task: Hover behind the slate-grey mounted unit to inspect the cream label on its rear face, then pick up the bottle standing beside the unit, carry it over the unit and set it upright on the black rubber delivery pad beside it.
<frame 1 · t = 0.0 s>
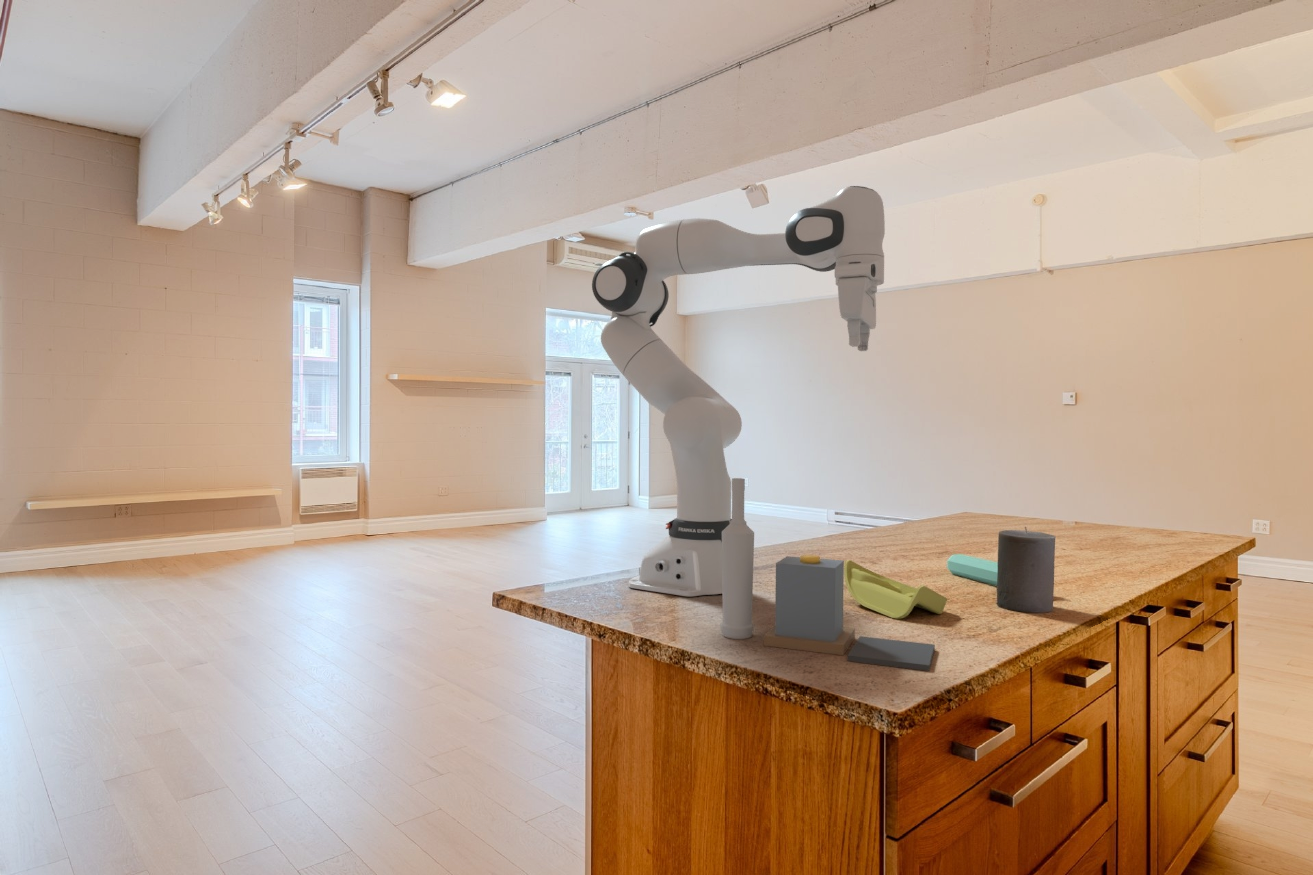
hand: (858, 348, 147), 48 cm above the counter, fingers open, 8 cm apart
mint green rod: (990, 585, 167), on the counter
delivery pad: (892, 655, 114), on the counter
mounted unit: (810, 641, 121), on the counter
bottle: (737, 636, 125), on the counter
plastic component: (890, 608, 145), on the counter
pillar candle: (1025, 608, 145), on the counter
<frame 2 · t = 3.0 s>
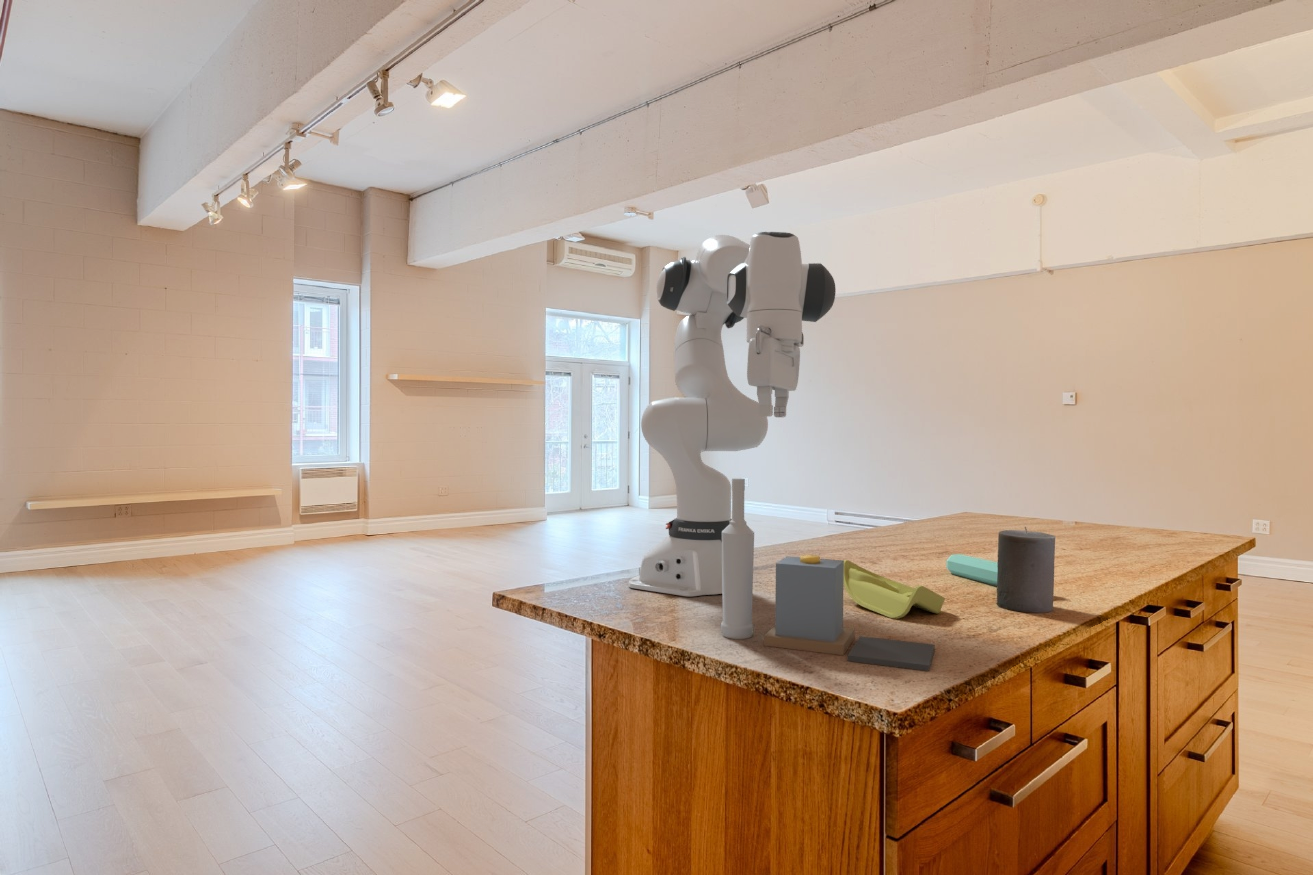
hand: (773, 417, 126), 35 cm above the counter, fingers open, 8 cm apart
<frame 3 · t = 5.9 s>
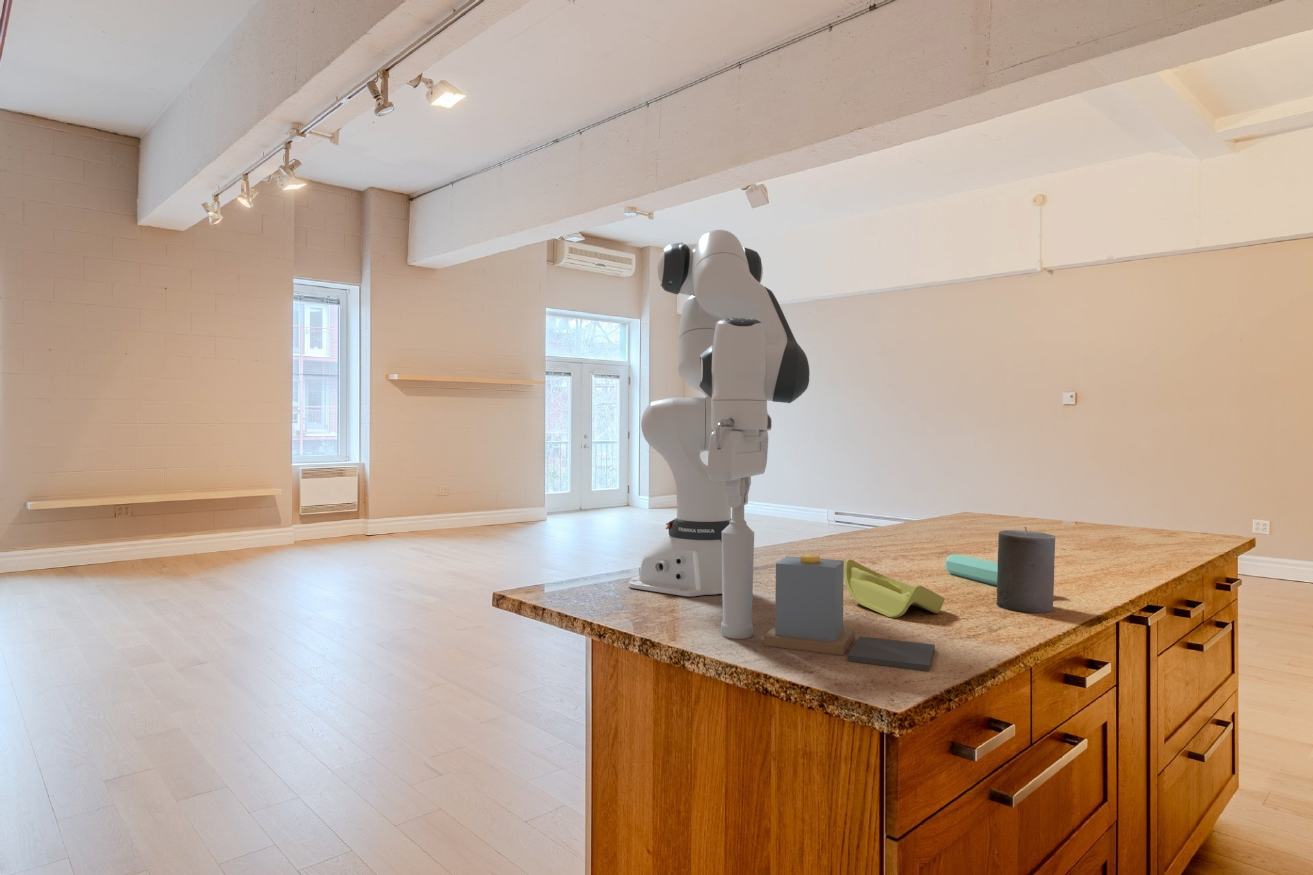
hand: (738, 506, 124), 21 cm above the counter, fingers closed on bottle, 2 cm apart
bottle: (737, 636, 125), on the counter, touching gripper
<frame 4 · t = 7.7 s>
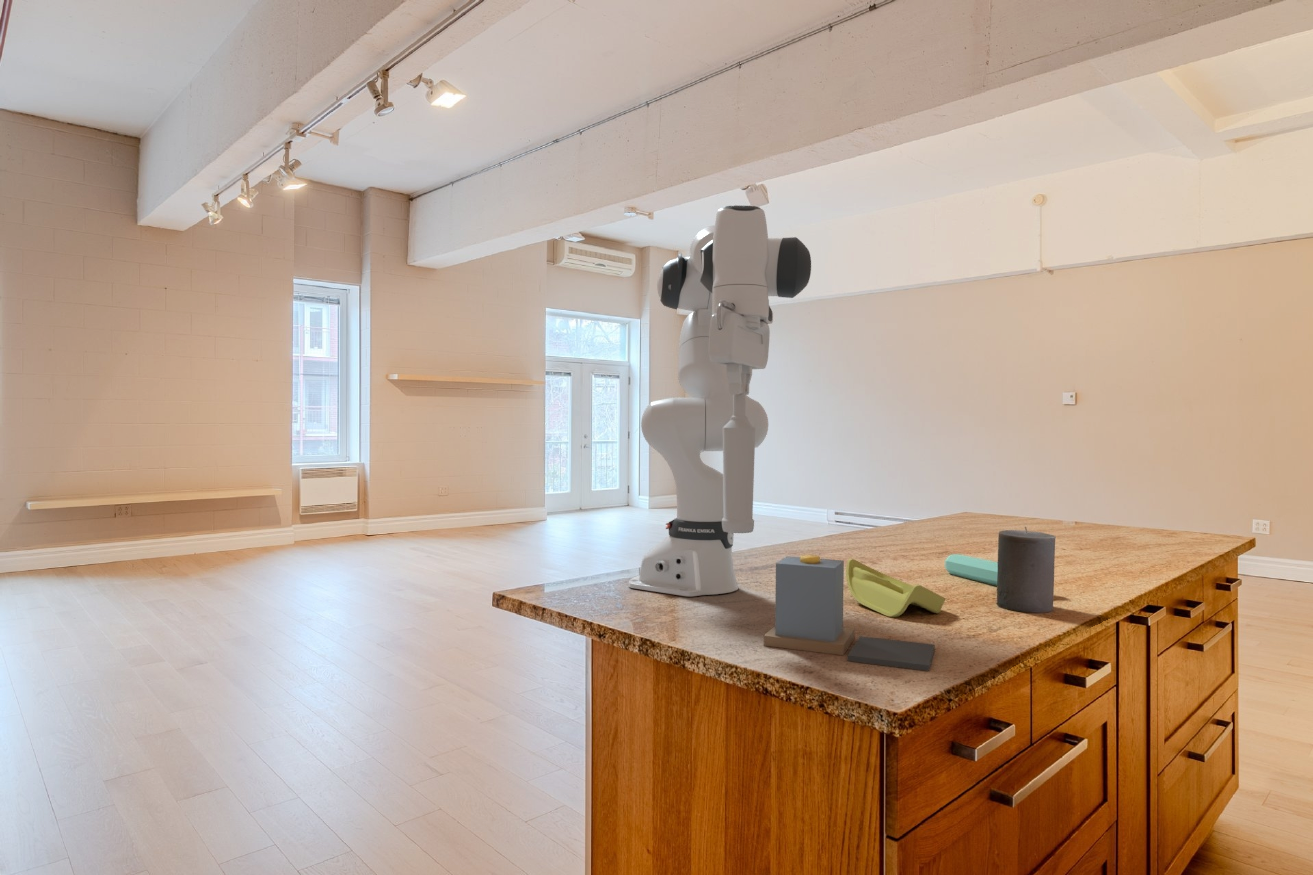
hand: (739, 395, 124), 38 cm above the counter, fingers closed on bottle
bottle: (737, 532, 125), point 16 cm above the counter, touching gripper
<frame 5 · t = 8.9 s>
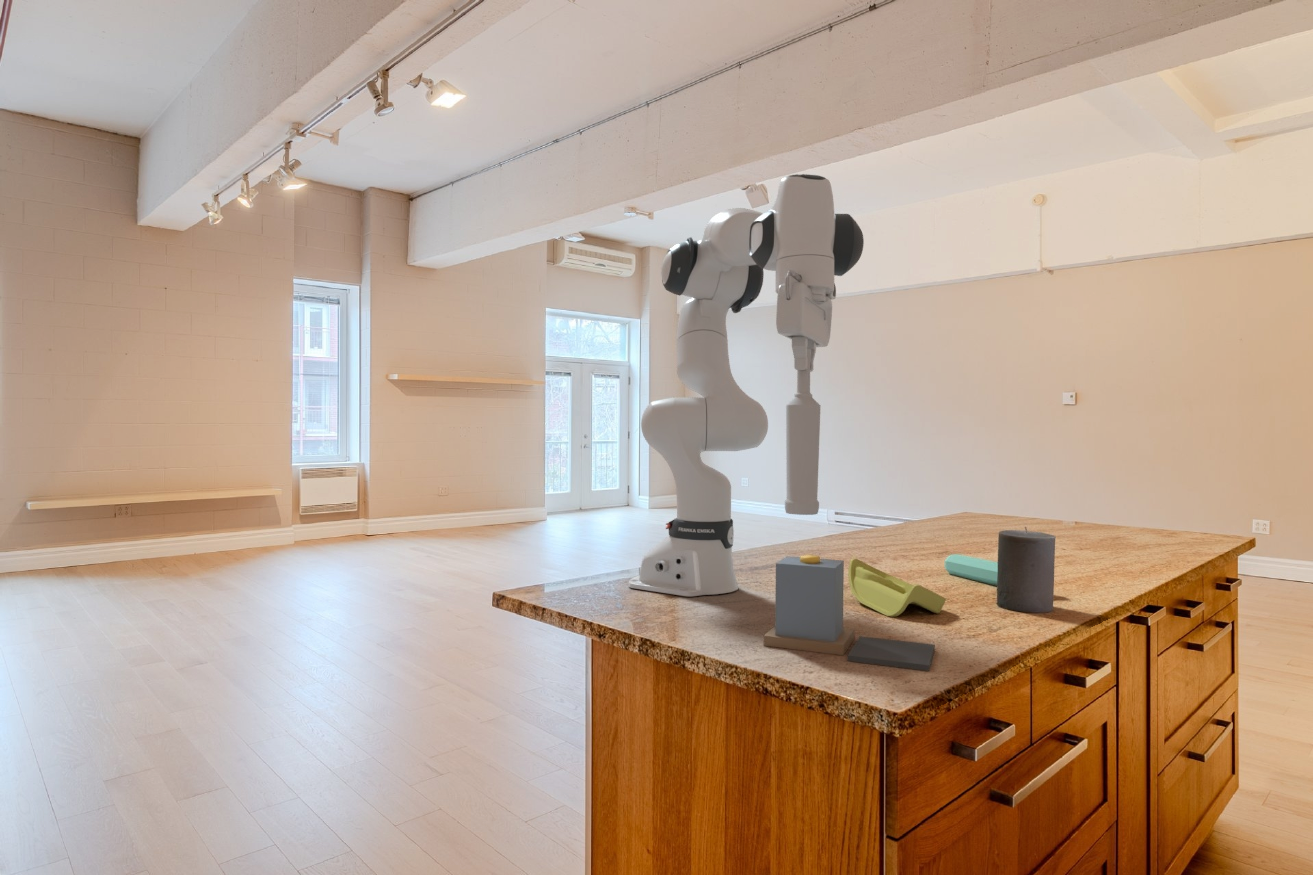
hand: (804, 371, 119), 42 cm above the counter, fingers closed on bottle
bottle: (801, 514, 119), point 20 cm above the counter, touching gripper
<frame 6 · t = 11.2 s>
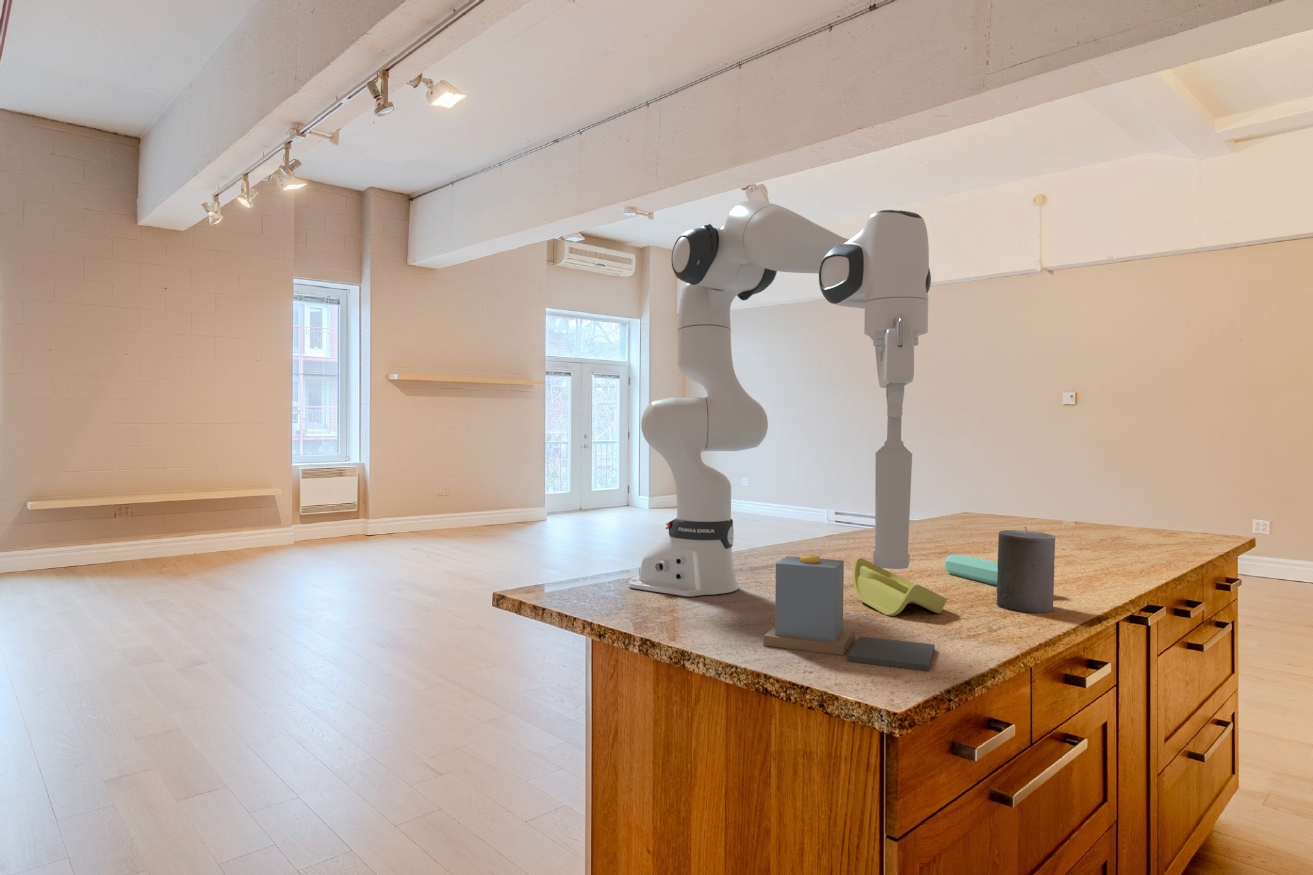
hand: (894, 417, 114), 35 cm above the counter, fingers closed on bottle
bottle: (891, 567, 114), point 13 cm above the counter, touching gripper
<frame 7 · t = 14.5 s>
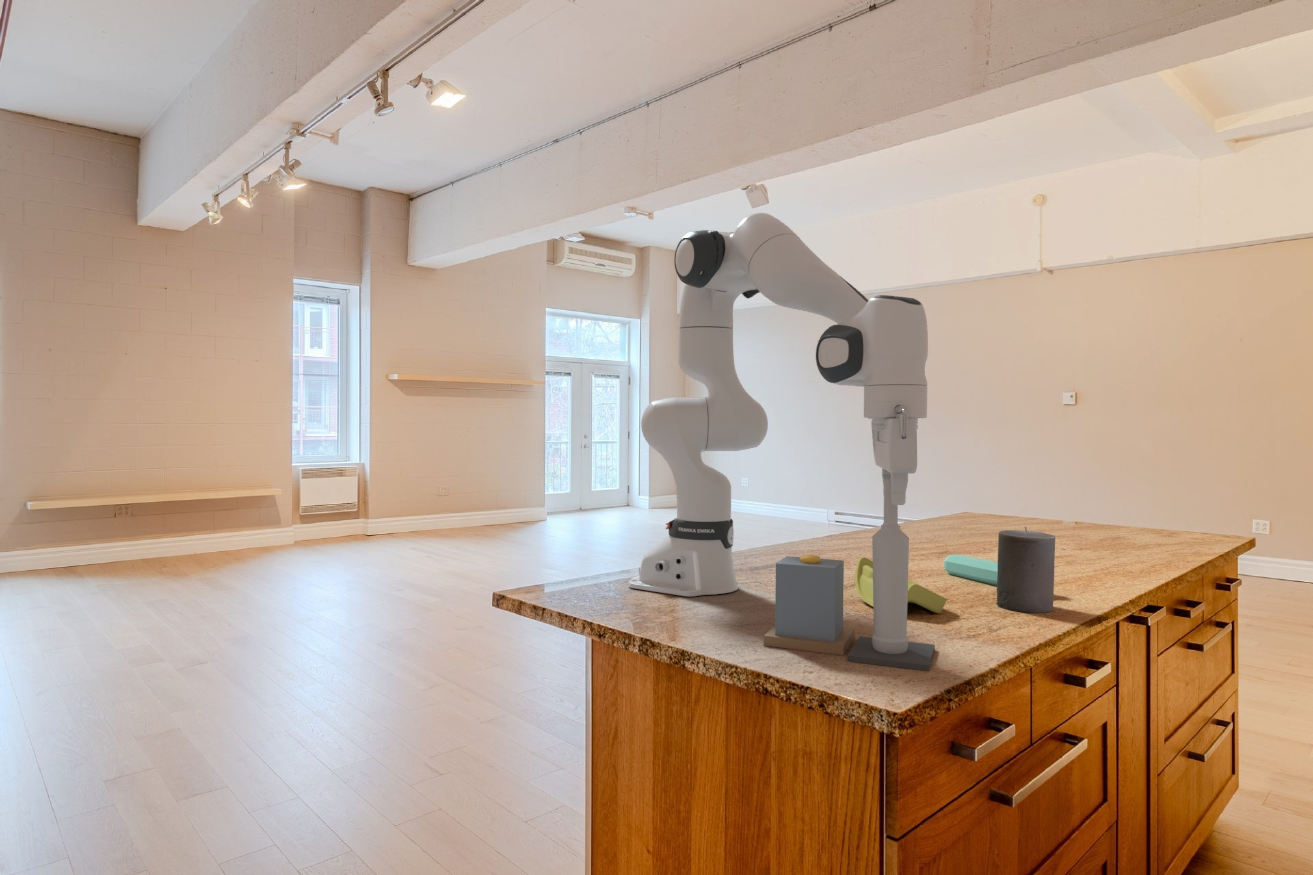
hand: (893, 501, 114), 23 cm above the counter, fingers open, 8 cm apart
bottle: (889, 650, 114), point 1 cm above the counter, touching delivery pad
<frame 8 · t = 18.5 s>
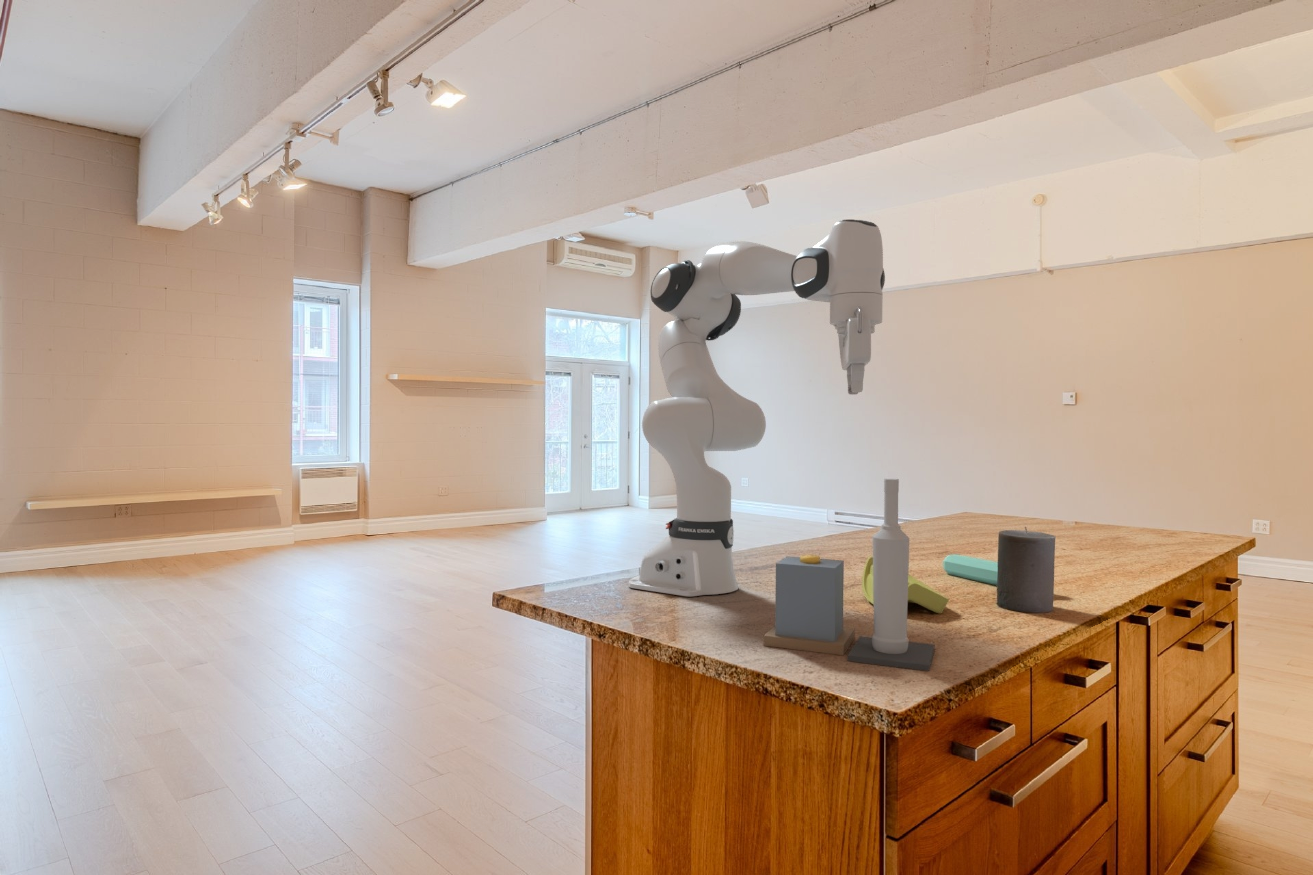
hand: (854, 393, 135), 39 cm above the counter, fingers open, 8 cm apart
plastic component: (900, 605, 148), on the counter
everything else where it was.
at the end: bottle inside the target area on the delivery pad (0.3 cm from its centre), point 0.6 cm above the delivery pad's base; bottle touching delivery pad; bottle tilted 0° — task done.
